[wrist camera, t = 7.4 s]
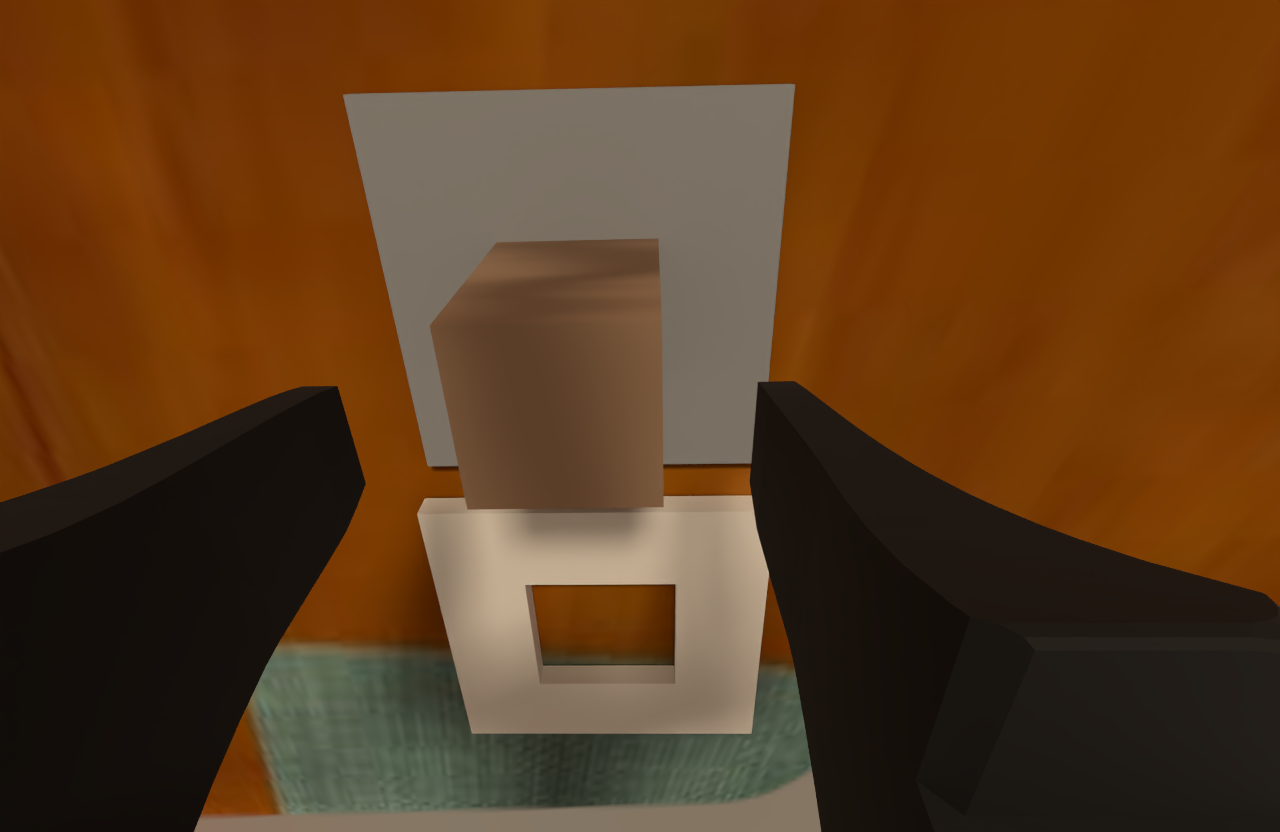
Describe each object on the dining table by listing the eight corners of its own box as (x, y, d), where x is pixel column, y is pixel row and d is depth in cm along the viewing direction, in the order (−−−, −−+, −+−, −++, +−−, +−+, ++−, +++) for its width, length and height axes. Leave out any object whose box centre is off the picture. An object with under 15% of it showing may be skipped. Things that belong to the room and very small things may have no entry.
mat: (791, 83, 14) (794, 84, 14) (758, 455, 19) (760, 463, 19) (350, 94, 14) (343, 95, 14) (431, 459, 19) (427, 466, 19)
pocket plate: (771, 495, 20) (775, 511, 19) (748, 715, 25) (751, 733, 25) (425, 498, 20) (417, 513, 19) (476, 715, 26) (471, 733, 25)
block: (658, 238, 16) (661, 321, 11) (660, 383, 18) (663, 507, 13) (496, 242, 16) (429, 325, 11) (516, 385, 18) (467, 509, 13)
